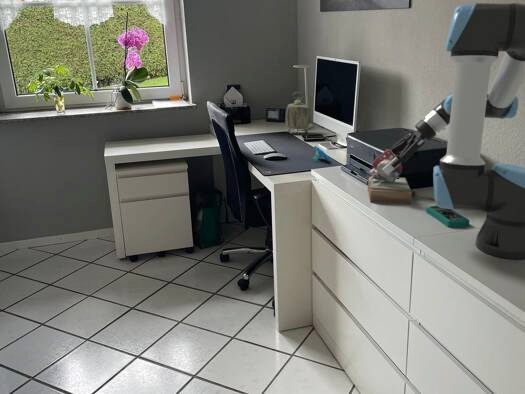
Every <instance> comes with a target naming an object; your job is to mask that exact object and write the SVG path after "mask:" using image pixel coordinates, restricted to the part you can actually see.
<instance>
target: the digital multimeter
mask: <svg viewBox="0 0 525 394" xmlns="http://www.w3.org/2000/svg"><path fill="white" fill-rule="evenodd" d="M426 214H428V215H429V216H431V217H432V218H435V220H437V221H439V222H440V223H441V224H443V225H444V226H445V227H447V228H455V229H457V228H464V227H465V228H466V227H469V226H470V222H471V221H470V219H468V218H467V217H466V216H464V215H462V214H461V213H459V212H457V211H456V210H455V209H454V210H452V209H447V208H440V207H438V206H437V205H431V206H430V205H429V206H427V208H426Z"/></svg>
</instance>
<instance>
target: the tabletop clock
mask: <svg viewBox="0 0 525 394" xmlns="http://www.w3.org/2000/svg"><path fill="white" fill-rule="evenodd" d="M295 94H302V95H303V96H302V97H300V96H297V97H294V95H295ZM304 97H305V94H304V93H303V92H301V91H296V92H294V93H292V98H293V99H295V100H294V102H293V103H289V104H287V107H286V110H285V124H286V127H287V128H288V130H287V133H289V134H290V132H291V130H296V133H295V134H296V135H299V134H300V132H299V130H304V133H305V134H308V132H309V131H308V130H307V129H308V128H309V125H310V121H311V109H310V105H309V104H307V103H303V102H302V99H303V98H304Z"/></svg>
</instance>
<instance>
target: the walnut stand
mask: <svg viewBox="0 0 525 394" xmlns="http://www.w3.org/2000/svg"><path fill="white" fill-rule="evenodd" d="M371 177H372V176H369V177H368V180H367V181H368V182H367V191H368V196H369V201H370V203H374V204H377V203H381V204H382V203H383V204H398V205H399V204H402V205H411V203H412V196H413V195H412V194H413V192H412V190H411V188H410V185H409V183H408V181H407V179H406V177H398V178H399V179H396V180H395V181H394V182H390V181H383V180H376V179H373V180H369V178H371Z"/></svg>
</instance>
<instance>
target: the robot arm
mask: <svg viewBox="0 0 525 394" xmlns="http://www.w3.org/2000/svg"><path fill="white" fill-rule="evenodd" d="M452 14H453V15H452V16H451V20H450V24H449V28H448V31H447V32H448V33H447V36H446V40H445V41H446V43H445V49H444V50H445V51H446V52H448V53H449V52H450V60H451V61H452V62H453V63H454V67H455V68H454V78H453V88H452V91H451V93H449V94H448V95H447V97H445V98H444V99H443V100H442V101H441V102H439V104H437V105H436V106H435V107H434V108H433V109H432V110H430V111H429V112H428V113H427V114H426V115H425V116H424V117H423V119H420V120H419V121H418V122H417V123H416V124H414V127H415V129H416V131H413V130H411V131H410V132H409V133H408V134H406V135H405V136H404V137H403V138H401V139H400V140H399V141H396V143H395V144H393V145H392V146H391V147H390V150H391V152H392V153H393V154H394V156H395V158H394V159H393V160H392V161H391V162H390V163H389V164H388V165H386V166H385V167H384V168H383V169H382V170H383V171H384V172H385V173H386V174H387V175H388V174H389V173H390V172H392V171H393V170H394V169H395V168H396V167H397V166H398V165H400V164H401V165H402V163H407V162H408V161H409V160H410V159H411V157H412V156H413V155H414V154H415V153H416V152H417V151H418V150H419V149H420V148H421V147H423V145H425V143H426V142H425V139H426V141H428V142H429V141H432V139H433V138H435V137H436V136H437V133H438V134H439V133H440V132H441V131H442V130H446V127H448V126H449V128H448V136H447V145H446V154H445V155H444V156H443V157H441V158H440V159H439V165H435V166H433V170H432V171H433V172H432V174H433V175H432V177H433V178H432V179H433V180H432V181H433V195H434V202H435V204H436V206H438V207H440V208H447V209H452V210H454V211H455V210H460V211H461V210H462V211H469V212H470V211H472V212H484V213H485V212H486V217H485V220H484V222H483V224H482V225H481V227H480V229H479V231H478V232H477V235H476V237H475V246H476V247H477V249H479V250H480V251H481V252H484V253H485V254H488V255H491V256H494V257H498V258H503V259H509V260H525V167H523V166H519V165H516V164H510V163H502V162H501V163H495V164H494V165H493V166H492V169H488V168H487V169H486V162H485V160H484V159H483V158H482V157H481V151H482V150H481V149H482V142H483V141H482V140H483V135H484V125H485V118H489V119H501V120H502V119H513V118H514V117H516V115H517V112H518V109H519V97H518V96H517V94H518V92H519V91H520V88H521V86H522V84H523V82H524V81H525V4H524V3H519V2H514V3H495V2H494V3H488V2H487V3H486V2H485V3H483V2H482V3H479V2H478V3H475V2H474V3H469V4H459V5H458V6H457V7H456V8H455V9H454V12H453V13H452ZM500 52H505V53H504V55H503V58H502V60H501V63H500V65H499V68H498V71H497V73H496V75H495V78H494V81H493V83H492V85H491V88H490V90H489V81H490V72H491V66H492V64H494V63H495V62H496V61H497V60H498V59H499V53H500ZM388 153H389V152H388ZM383 157H384V158H385V157H386V156H383ZM381 162H382V161H381ZM381 162H379V163H381Z"/></svg>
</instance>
